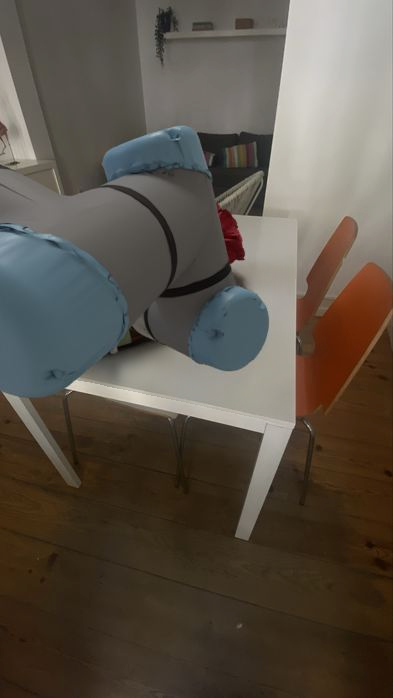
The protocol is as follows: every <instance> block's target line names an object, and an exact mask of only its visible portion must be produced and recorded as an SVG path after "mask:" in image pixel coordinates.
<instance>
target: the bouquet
mask: <svg viewBox="0 0 393 698" xmlns="http://www.w3.org/2000/svg"><path fill="white" fill-rule="evenodd" d="M216 205H217V210H218V214H219V219H220V223H221V228H222V232H223V237H224V241H225V246H226V250H227V255H228V259H229V263H230V265H232V264H234V262H235V261H239V262H240V261H242V262H243V261H245V257H246V251H245V248H244V247H243V241H244V239H243V237H242V235H241V233H240V230H239V225H238V221H237V220H236V219H235V217H233V214H232V213H231V212H230V211H229V210H228V209H226V208H224V209H223V207H221V205H220V204H219V203H216Z"/></svg>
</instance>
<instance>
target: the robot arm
mask: <svg viewBox="0 0 393 698" xmlns="http://www.w3.org/2000/svg"><path fill="white" fill-rule="evenodd" d="M102 167H103V170H104V174H105V177H106V180H107V182H105V183H104V184H102V185H98V186H97V187H95V188H92V189H88V190H85V191H82V192H79V193H77V194H73V195H64V194H61V193H58V192H56V191H55V190H53V189H51V188H49V187H48V186H45V185H43V184H42V183H39V182H38V181H36V180H34V179H32V178H30V177H28V176H26V175H25V174H22V173H20V172H18V171H16V170H14V169H12V168H10V167H9V166H7V165H5V164H3V163H1V162H0V392H2V393H5V394H8V395H10V396H14V397H19V398H24V399H40V398H47V397H50V396H53V395H56V394H58V393H60V392H62V391H64V390H65V389H66V388H68V387H69V386H71V384H73V383H74V382H75V381H76V380H78V379H79V378H80V377H81V376H82V375H83V374H84V373H86V372H87V371H88V370H90V368H92V367H93V366H94V365H95V364H97V362H99V361H100V360H101V359H102V358H103V357H104V356H106V354H107V353H108V352H110V351H112V350H113V349H114V348H115V347H116V346H117V344H118V343H119V341H120V340H121V339H123V337H124V335H125V333H126V332H127V331H128V329H131V330H133V331H135V332H137V333H139V334H142V335H144V336H146V337H148V338H150V339H152V340H155V341H154V342H157V343H159V344H161V345H163V346H166V347H169V348H170V349H172V350H174V351H176V352H178V353H180V354H181V355H184V356H186V357H188V358H190V359H191V360H192V361H193V362H195V363H196V364H199V365H205V366H208V367H211V368H213V369H217V370H219V371H222V372H236V371H239V370H242V369H243V368H245V367H246V366H248V365H249V364H250V363H251V362H252V361H254V360H255V359H256V358H257V357H258V355H259V354H260V353H261V351H262V350H263V347H264V345H265V344H266V340H267V337H268V334H269V330H270V329H269V328H270V316H269V311H268V307H267V305H266V304H265V302H264V301H263V299H262V298H261V297H260V295H259V294H258V293H257V292H255V291H253V290H250V289H247V288H246V287H245V286H242V285H241V286H240V285H236V281H235V280H236V279H235V276H234V271H233V268H232V264H230V263H229V259H228V255H227V250H226V246H225V241H224V237H223V232H222V228H221V223H220V219H219V214H218V210H217V205H216V204H217V201H216V197H215V192H214V187H213V182H214V181H213V176H212V173H211V171H210V170H209V168H208V164H207V160H206V156H205V154H204V151H203V148H202V144H201V140H200V137H199V135H198V134H197V132H196V131H195V130H194V129H193V128H192V127H190V126H187V125H175V126H172V127H169V128H165V129H162V130H158V131H154V132H150V133H148V134H145V135H142V136H139V137H137V138H133V139H131V140H129V141H126V142H123V143H121V144H119V145H116V146H113V147H112V148H110V149H109V150H108V151H106V152H105V154H104V155H103V159H102ZM107 355H108V354H107Z"/></svg>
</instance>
